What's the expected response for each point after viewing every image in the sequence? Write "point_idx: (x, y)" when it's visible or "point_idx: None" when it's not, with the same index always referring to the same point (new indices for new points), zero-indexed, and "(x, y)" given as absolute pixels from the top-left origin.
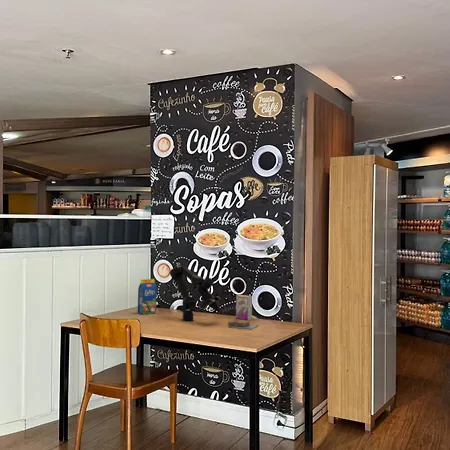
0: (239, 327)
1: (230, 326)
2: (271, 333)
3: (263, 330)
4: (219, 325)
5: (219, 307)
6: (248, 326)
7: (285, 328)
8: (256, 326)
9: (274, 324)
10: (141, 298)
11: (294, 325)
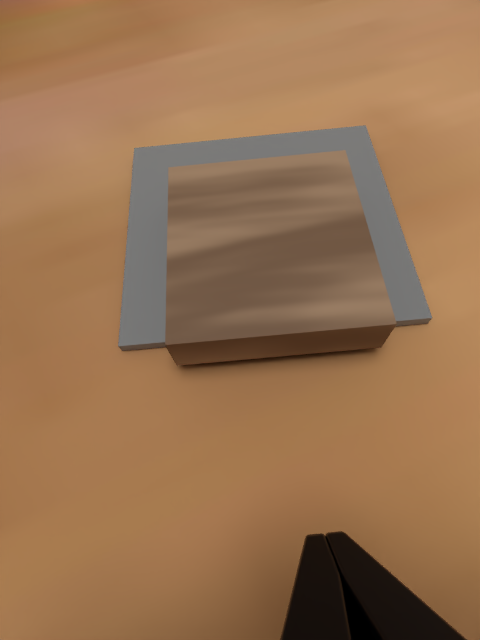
0: (386, 213)
1: (397, 309)
2: (411, 11)
3: (334, 70)
4: (347, 514)
5: (329, 615)
6: None
7: (161, 21)
8: (210, 143)
9: (2, 107)
10: None
11: (8, 24)
